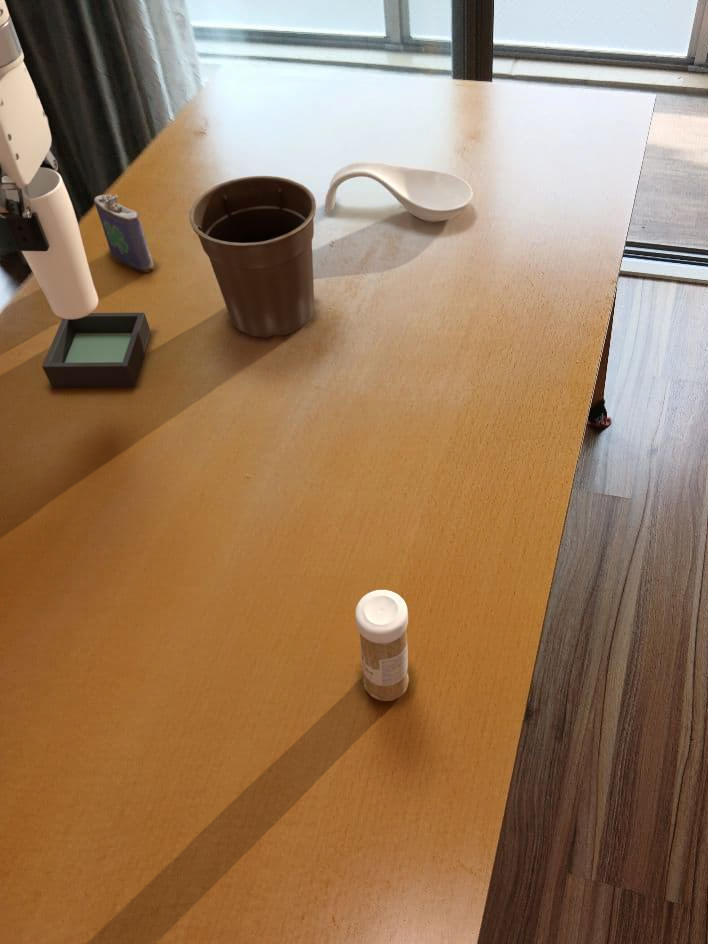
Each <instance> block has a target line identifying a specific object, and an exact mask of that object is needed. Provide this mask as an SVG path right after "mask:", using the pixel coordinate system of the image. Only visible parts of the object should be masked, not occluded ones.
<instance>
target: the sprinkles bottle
mask: <svg viewBox="0 0 708 944" xmlns="http://www.w3.org/2000/svg"><path fill="white" fill-rule="evenodd" d="M408 624H409V611H408V606H407V603H406V602H405V600H404V598H403V597H402V596H400V594H398V593H396V592H394V591H391V590H388V589H377V590H372V591H370V592H368V593H366V594H364V596H362V597H361V599H360V600H359V601H358V603H357V604H356V607H355V625H356V628H357V630H358V633H359V638H360V639H359V640H360V642H359V643H360V644H359V645H360V653H361V663H362V671H363V679H362V681H363V687H364V689H365V691H366V692H367V694H368V695H369V696H371V697H372V698H373V699H375V700H376V701H381V702H392V701H395V700H397V699H399V698H401V697H402V696H403V695H404V694H405V692H407V689H408V688H409V687H408V686H409V684H410V683H409V682H410V678H409V672H408V668H409V656H408V655H409V653H408V649H409V648H408V635H407V627H408Z"/></svg>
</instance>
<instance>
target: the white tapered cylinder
mask: <svg viewBox="0 0 708 944" xmlns="http://www.w3.org/2000/svg"><path fill="white" fill-rule="evenodd" d="M58 172H59V171H54V170H52V169H49V168H44V167H39V169H38V170H37V172H36V174H35V175H34V177H33V179H32V180H31V182H30V183H29V184H28V185H27V188H28V194H29V199H30V205H31V211H32V213H37V215H38V218H39V220H40V223H41V225H42V228H43V230H44V233H45V236H46V238H47V241H48V243H49V249H48V251H20V252H21V253H22V255H23V257H24V259H25V261H26V262H27V265H28V266H29V269H30V270H31V272H32V274H33V275H34V278H35V279H36V281H37V283H38V285H39V287H40V289H41V291H42V294H44V296H45V299H46V300H47V301H46V302H47V303H48V305H49V308H50V310H51V312H52V313H53V314H54V315H55V316H57V317H59V318H60V319H62V318H63V319H79V318H82V317H85V316H87V315H89V314H91V313H94V311H96V310H97V307H98V305H99V295H98V292H97V290H96V287H95V284H94V281H93V277H92V273H91V268H90V265H89V261H88V258H87V253H86V250H85V246H84V242H83V238H82V235H81V230H80V226H79V222H78V218H77V215H76V212H75V209H74V205H73V202H72V200H71V197H70V194H69V192H68V190H67V187H66V185H65V182H64V180H63V177H62V176H61V174H60V172H59V173H58ZM2 182H10V183H15V181H14V179H13V178H10V177H9V176H2ZM6 195H7V199H12V200H14V201H16V202H18V203H19V198H18V193H17V190H6Z"/></svg>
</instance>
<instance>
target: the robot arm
mask: <svg viewBox="0 0 708 944" xmlns="http://www.w3.org/2000/svg"><path fill="white" fill-rule="evenodd" d="M24 59H25V55H24V52H23V49H22V45H21V43H20V40H19V38H18V35H17V32H16V29H15V26H14V23H13V21H12V17H11V15H10V13H9V9H8V6H7V2H6V1H5V0H0V218H1V219H4V221H5V224H6V225H7V228H8V231H9V233H10V235H11V238H12V240H13V242H14V244H15V247H16V249H17V250H19V251H20V252H21V251H48V249H49V243H48V241H47V238H46V236H45V233H44V230H43V228H42V225H41V223H40V220H39V218H38V215H37V213H32V211H31V205H30V199H29V194H28V188H27V185H28V184H29V183H30V182H31V180H32V179H33V177H34V175H35V174H36V172H37V170H38V169H39V167H44V168H49V169H52V170H54V171H56V172H58V173H59V174H60V172H59V171H58V169H59V164H58V161H57V159H56V158H55V156H54V154H53V143H52V142H53V141H52V140H53V139H52V134H51V128H50V126H49V119H48V116H47V115H46V113H45V111H44V110H45V109H43V105H42V103H41V100H40V97H39V95H38V92H37V90H36V87H35V85H34V82H33V80H32V77H31V76H30V73H29V71H28V69H27V66H26V64H25V62H24ZM3 176H9V177H10V178H13V179H14V181H15V183H10V182H2V177H3ZM6 190H17V193H18V198H19V203H18V202H16V201H14V200H12V199H7V195H6Z"/></svg>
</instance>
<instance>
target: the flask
mask: <svg viewBox="0 0 708 944" xmlns="http://www.w3.org/2000/svg"><path fill="white" fill-rule="evenodd" d="M113 194H114V196H112V194H100V195H99V194H98V195H97V196H95V198H93V202H94V206H95V209H96V211H97V214H98V217H99V220H100V223H101V226H102V229H103V233H104V236H105V239H106V242H107V245H108V248H109V253H110V255H111V257H112V258H114V260H116V261H117V262H118V263H119V264H122V265H125V266H126V267H128V268H130V269H132V270H135V271H137V272H141V273H149V272H151V271H152V270H153V269H155V267H154V266H155V264H154V262H153V258H152V255H151V251H150V249H149V246H148V242H147V238H146V236H145V232H144V228H143V226H142V225H143V224H142V223H141V219H140V214H139V213H138V211H136V210H133V209H131V208H128V207H126V206H123V205H122V204H120V203H119V200H118V199H119V196H118V194H117V193H113Z"/></svg>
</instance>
